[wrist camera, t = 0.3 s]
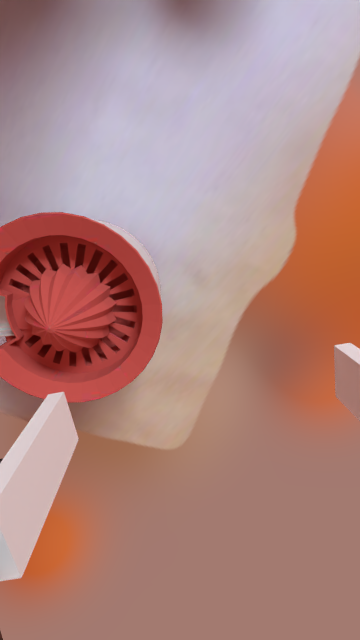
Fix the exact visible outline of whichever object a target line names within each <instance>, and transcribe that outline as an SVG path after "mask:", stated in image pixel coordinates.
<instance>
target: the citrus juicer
mask: <svg viewBox="0 0 360 640" xmlns="http://www.w3.org/2000/svg"><path fill="white" fill-rule="evenodd" d="M161 328H162V302H161V285H160V281H159V276H158V272H157V269H156V266H155V264H154V262H153V260H152V257H151V256H150V254H149V253H148V252H147V250H146V249H145V247H144V246H143V245H142V244H141V243H140V242H139V241H138V240H137V239H136V238H135V237H134V236H133V235H131V234H130V233H128V232H126V231H125V230H123V229H122V228H120V227H117V226H115V225H112V224H110V223H107V222H105V221H100V220H95V219H90V218H86V217H84V216H79V215H74V214H68V213H63V212H53V213H37V214H33V215H29V216H24V217H20V218H18V219H16V220H14V221H12V222H10V223H8V224H5V225H3V226H2V227H0V337H3V336H5V337H6V341H7V342H6V343H4V344H2V345H1V346H0V377H1V378H3V379H4V380H5V381H7V382H8V383H9V384H11V385H12V386H14V387H16V388H18V389H20V390H22V391H24V392H26V393H27V394H29V395H33V396H36V397H39V398H42V399H45V398H46V397H47V395H48V394H53V393H59V392H64V394H65V397H66V400H67V403H69V402H86V401H91V400H95V399H100V398H103V397H105V396H107V395H110V394H112V393H115V392H117V391H118V390H120V389H122V388H123V387H125V386H126V385H128V384H129V383H131V382H132V381H133V380H134V379H135V378H136V377H137V376H138V375H139V374H140V373H141V372H142V371H143V370H144V368H145V367H146V366H147V364H148V363H149V361H150V360H151V358H152V357H153V354H154V352H155V349H156V347H157V344H158V342H159V339H160V333H161Z"/></svg>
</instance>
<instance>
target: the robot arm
mask: <svg viewBox="0 0 360 640" xmlns="http://www.w3.org/2000/svg"><path fill="white" fill-rule="evenodd" d="M334 356H335V391H336V397H337V398H338V399H339V400H340V401H341V402H342V403H343V404H344V405H345V406H346V407H347V408H348V409H349V410H350V411H351V412H352V413H353V415H354V416H355V417H356V418H358V420H359V421H360V349H359V348H357V347H355V346H354V345H353V344H351V343H346V344H341V345H335V346H334ZM78 440H79V439H78V436H77V433H76V429H75V426H74V423H73V419H72V416H71V413H70V410H69V406H68V403H67V400H66V397H65V394H64V392H59V393H53V394H48V395H47V397H46V398H45V400H44V401H43V403H42V404H41V405H40V407H39V408H38V410H37V411H36V413H35V414H34V416H33V417H32V418H31V420H30V421H29V423H28V424H27V426H26V427H25V429H24V430H23V431H22V433H21V434H20V436H19V437H18V438H17V440H16V441H15V443H14V445H13V446H12V447H11V448H10V450H9V451H8V453H7V454H6V456H5V457H4V458H3V459H0V581H4V580H11V579H17V578H21V577H22V576H23V573H24V571H25V568H26V566H27V564H28V561H29V559H30V556H31V554H32V551H33V549H34V547H35V544H36V542H37V539H38V537H39V534H40V532H41V530H42V527H43V524H44V522H45V520H46V517H47V515H48V513H49V510H50V508H51V505H52V503H53V500H54V498H55V496H56V493H57V491H58V488H59V486H60V483H61V481H62V479H63V476H64V474H65V471H66V469H67V466H68V464H69V462H70V459H71V457H72V454H73V452H74V450H75V447H76V444H77V442H78ZM0 640H3V638H2V635H1V632H0Z"/></svg>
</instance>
